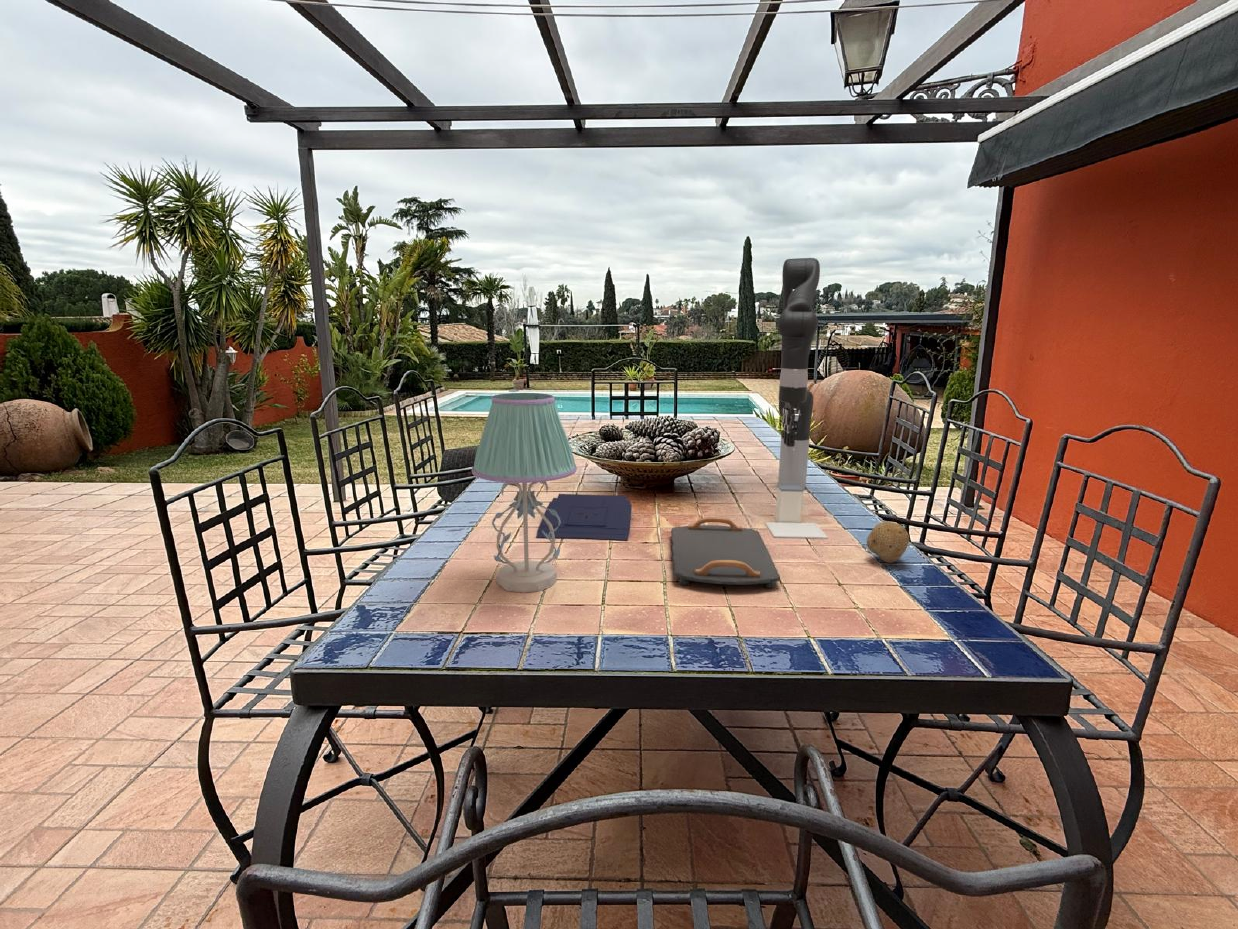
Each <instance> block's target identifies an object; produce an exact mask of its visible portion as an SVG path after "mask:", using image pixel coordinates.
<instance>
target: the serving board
mask: <svg viewBox="0 0 1238 929" xmlns="http://www.w3.org/2000/svg"><path fill="white" fill-rule="evenodd" d="M706 523H721V524H726V525H717V524H714V525H713V524H712V525H711V524H707V525H706ZM727 525H729V526H727ZM670 532H671V533H670V534H671V540H670V542H671V545H672V546H671V552H672V553H671V554H672V557H671V561H672V566H673V567H672V568H673V576H674V577H675V578H678V579H679V585H680V586H682V587H687V586H689V585H690V581H692V582H697V583H698V582H700V583H704V584H705V583H706V584H714V585H728V586H729V585H731V586H733V585H734V586H737V585H738V586H743V585H744V586H750V585H760V584H763V586H764V588H765V589H767V590H773V589H775V588H774V587H775V583H776V582H780V581H781V576H780V575H781V574H780V573H779V571H778V569H777V567H776V564H775V563H774V561H773V559H772V556H771V555H770V553H769V550H768V548H767V545H766V544H765V542H764V540H763V538H762V535H761V533H760V531H759V530H755V529H751V528H745V527H742V526H739V525H737V524H735V522H734V521H732V520H731V519H729V518H727V517H721V516H707V517H702V518H699V519H698V520H696V521H695V522H694V523H693V524H688V525H685V526H684V525H683V526H675V527H672V528H671V530H670Z"/></svg>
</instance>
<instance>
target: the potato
mask: <svg viewBox="0 0 1238 929" xmlns="http://www.w3.org/2000/svg"><path fill="white" fill-rule="evenodd" d="M909 543H910V536H909V533H908V531H907V530H906V528H905V527H904V526H902V525H901V524H900V523H897V522H895V521H894V522H893V521H889V520H888V521H883V522H881V523H879V524H876V525H875V526H874V527H873V529H872V530H871V531H870V533H869V534H868V536H867V538H866V546H867V549H868V550H869V551H870V552H872V553H873V554H875V555H877V557H879V559H880V560H882V561H883V562H885V563H888V564H891V563H895V562H896V561H898V560H899V559H900V558H902V556H903V555H904V554H905V552H906V551H907V548H908V546H909Z"/></svg>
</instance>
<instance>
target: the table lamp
mask: <svg viewBox="0 0 1238 929" xmlns="http://www.w3.org/2000/svg"><path fill="white" fill-rule="evenodd" d="M490 401H491V404H490V408H489V411H488V415H487V419H486V422H485V424H484V429H483V431H482V434H481V438H480V439H479V443H478V446H477V449H476V451H475V452H476V453H475V458H474V462H473V463H474V464H473V466H472V467H471V473H472V475H473V476H474V477H476V478H479V479H481V480H485V481H488V482H489V481H490V482H497V483H503V484H502V486H501V489H500V492H501V495H502V496H504V492H505V491H504V490H505V489H506V488H507V486H512V487H517V488H518V490H519V491H516V495H515V496H514V498H513V501H514V502H511V503H510V504H509V505H508V508H506V509H505V510H504V511H502V512H497V513H496V514H495V516H494V517H493V518H492V521H491V525H492V527H493V529H494V530H495V531H496V532H497V535H496V549H497V554H496V555H493V557H494V559H493V560H495V562H499V563H502V564H506V565H502V566H500V567H499V568H498V572H497V578H496V584H498V586H500V588H502V589H504V590H505V591H506V592H516V593H524V594H525V593H534V592H541V591H543V590H546V589H548V588H551V587H553V585H554V584H555V583H556V582H557V581H558V579H557V574H558V572H557V570H556V568H555V566H554V564H550V563H551V562H552V561H553V560H555V558H558V557H559V556H560V554H561V548H558V549H557V548H556V547H555V544H556V537H555V536H554V531H556V530H557V528H558V527H559V525H560V523H561V521H560V517H559V516H558V514H557V512H556V511H555V510H553V509H548V508H547V507H546V506H543V505H544V503H543V502H541V501H539V500H537V498H536V495H535V490H532V488H533V486H534V485H536V484H538V483H540V484H542V485H544V486H545V491H546V493H548V492H549V486H548V483H547V482H551V481H557V480H561V479H565V478H568V477H571V476H573V475H574V474H576V472H577V468H578V467H577V464H576V461H575V456H574V454H573V451H572V448H571V446H570V445H571V444H570V443H569V440H568V436H567V433H566V431H565V429H564V427H563V424H562V421H561V419H560V415H559V412H558V409H557V406H556V405H557V404H556V399H555V397H554V396H553V395H552V394H548V393H547V394H546V393H538V392H537V393H536V392H514V393H513V392H511V393H509V392H508V393H501V394H500V393H499V394H495V395H493V396H492V398H491V400H490ZM528 483H529V484H528ZM521 484H522V486H521ZM539 507H540V508H543V509H545V510H546V509H547V510H549V511H550V513H551V514H552V515H554V516H556V517H557V518H558V521H559V523H558V525H557V527H556V528H555V529H554V530H553V526H552V524H551V523H550V522H549V520H548V519H547V518H546V517H545V516H544V514H545V513H543V512H542V511H541V509H540V508H539ZM509 510H510V512H508V511H509ZM534 510H536V511H537V513H538V514H539V515H540V517H541V518H543V519H544V520H545V522H546V523H547V524H548V526H549V529H550V532H549V535H548V534H547V533H545V532H544V531H543V530H542V532H543V534H544V535H545V537H544V538H547V540H548V541H550V547H549V551H548V553H547V554H546V555H545V556H544V557H543V558H542V559H541V561H538V560H530V558H529V555H530V554H529V525H528V524H529V518H528V517H529V516H531V517H532V518H533V519H536V513H535V512H534ZM516 511H517V515H516V516H517V520H519V519H520V518H521V517H522V519H523V520H522V521H523V526H522V527H523V551H524V552H523V553H524V554H523V555H524V556H523V558H524V560H521V561H514V562H512V561H511V560H509V559H508V558H507V557H505V556H504V554H503V550H502V549H503V547H504V545H505V543H506V542H508V541H509V540H510V537H511V535H512V532H509V533H508V534H507V535H506V534H505V532H503V528H504V527H505V526H506V524H507V523H508V521H509V520H510V519H511V518H512V516H513V515H514V513H515V512H516ZM506 512H508V514H507V515H506V517H505V519H503V521H502V522H501V525H500V527H499V529H498V528H497V526H496V525H495V521H496V520H497V519H500V518H502V517H503V515H504V514H505V513H506ZM528 515H529V516H528ZM550 533H551V537H550ZM501 537H502V541H501V543H500V540H501ZM552 554H553V555H552ZM551 555H552V557H551V558H549V557H550V556H551ZM548 558H549V559H548ZM547 559H548V560H547Z"/></svg>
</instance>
